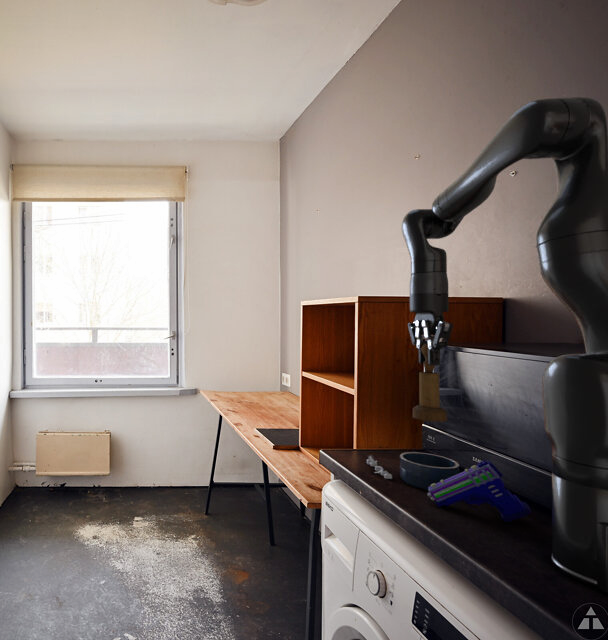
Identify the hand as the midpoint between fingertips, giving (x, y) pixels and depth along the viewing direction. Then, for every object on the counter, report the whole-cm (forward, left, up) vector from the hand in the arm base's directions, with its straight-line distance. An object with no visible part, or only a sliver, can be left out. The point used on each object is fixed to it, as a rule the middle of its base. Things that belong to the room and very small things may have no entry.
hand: (429, 364), depth 98 cm
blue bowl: (-2, +1, -28) cm, 28 cm away
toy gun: (-17, +1, -28) cm, 33 cm away
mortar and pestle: (0, 0, -13) cm, 13 cm away
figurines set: (+6, +9, -28) cm, 30 cm away
